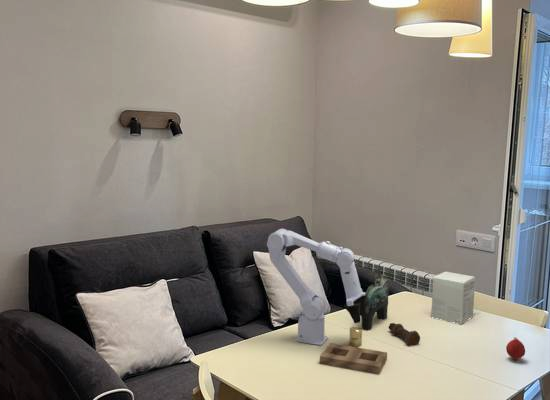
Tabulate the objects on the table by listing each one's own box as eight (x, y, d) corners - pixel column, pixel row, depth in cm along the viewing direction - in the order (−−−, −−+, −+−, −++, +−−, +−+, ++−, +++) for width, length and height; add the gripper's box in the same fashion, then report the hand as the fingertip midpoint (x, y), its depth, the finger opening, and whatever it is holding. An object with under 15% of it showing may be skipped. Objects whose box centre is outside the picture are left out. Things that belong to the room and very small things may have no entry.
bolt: (393, 335, 203) (415, 349, 189) (383, 330, 201) (405, 343, 187) (399, 322, 203) (422, 334, 189) (390, 317, 202) (412, 329, 188)
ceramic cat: (378, 314, 221) (380, 268, 218) (393, 318, 217) (394, 271, 215) (357, 328, 205) (358, 279, 202) (372, 332, 201) (373, 282, 199)
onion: (523, 357, 178) (524, 335, 177) (525, 364, 173) (526, 341, 172) (504, 355, 180) (506, 333, 179) (506, 362, 175) (507, 339, 174)
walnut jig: (319, 363, 173) (319, 356, 173) (330, 349, 184) (330, 343, 184) (379, 374, 166) (379, 366, 165) (387, 359, 177) (387, 352, 176)
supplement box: (474, 316, 219) (476, 276, 217) (461, 325, 209) (463, 283, 207) (443, 309, 228) (445, 270, 225) (430, 317, 218) (432, 276, 216)
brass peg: (347, 346, 188) (348, 330, 187) (351, 341, 192) (351, 326, 191) (359, 348, 186) (360, 332, 185) (362, 343, 190) (363, 327, 189)
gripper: (356, 286, 178) (366, 324, 179) (366, 275, 191) (375, 310, 192) (337, 289, 181) (346, 327, 182) (348, 278, 194) (357, 313, 195)
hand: (360, 318), depth 187 cm, fingers open, 7 cm apart
